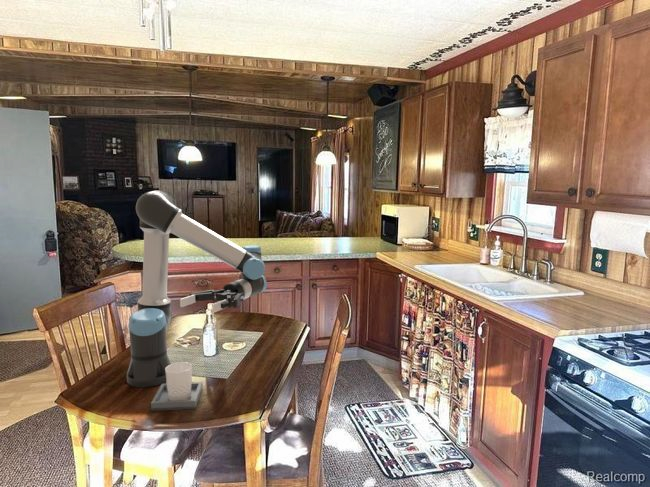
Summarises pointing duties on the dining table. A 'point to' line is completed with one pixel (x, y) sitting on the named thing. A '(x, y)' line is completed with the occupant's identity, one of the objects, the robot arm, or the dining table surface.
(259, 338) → the dining table surface
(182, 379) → the white cup
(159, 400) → the charcoal tray
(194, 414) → the dining table surface
